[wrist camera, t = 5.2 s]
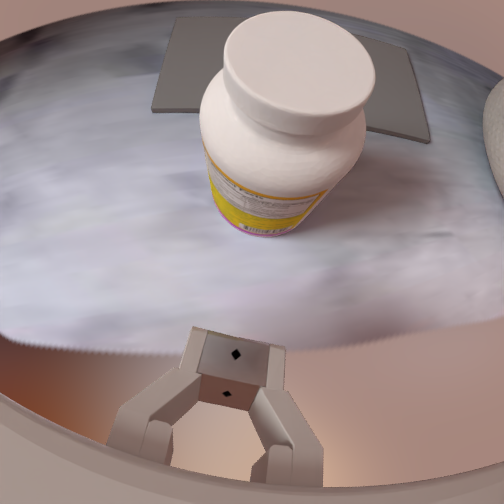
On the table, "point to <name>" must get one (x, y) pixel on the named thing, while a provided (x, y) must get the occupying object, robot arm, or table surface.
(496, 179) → the cereal bowl
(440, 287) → the table surface
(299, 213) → the supplement bottle
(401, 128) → the mat
